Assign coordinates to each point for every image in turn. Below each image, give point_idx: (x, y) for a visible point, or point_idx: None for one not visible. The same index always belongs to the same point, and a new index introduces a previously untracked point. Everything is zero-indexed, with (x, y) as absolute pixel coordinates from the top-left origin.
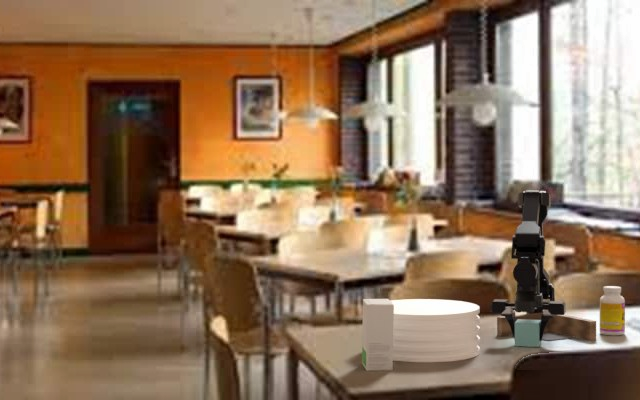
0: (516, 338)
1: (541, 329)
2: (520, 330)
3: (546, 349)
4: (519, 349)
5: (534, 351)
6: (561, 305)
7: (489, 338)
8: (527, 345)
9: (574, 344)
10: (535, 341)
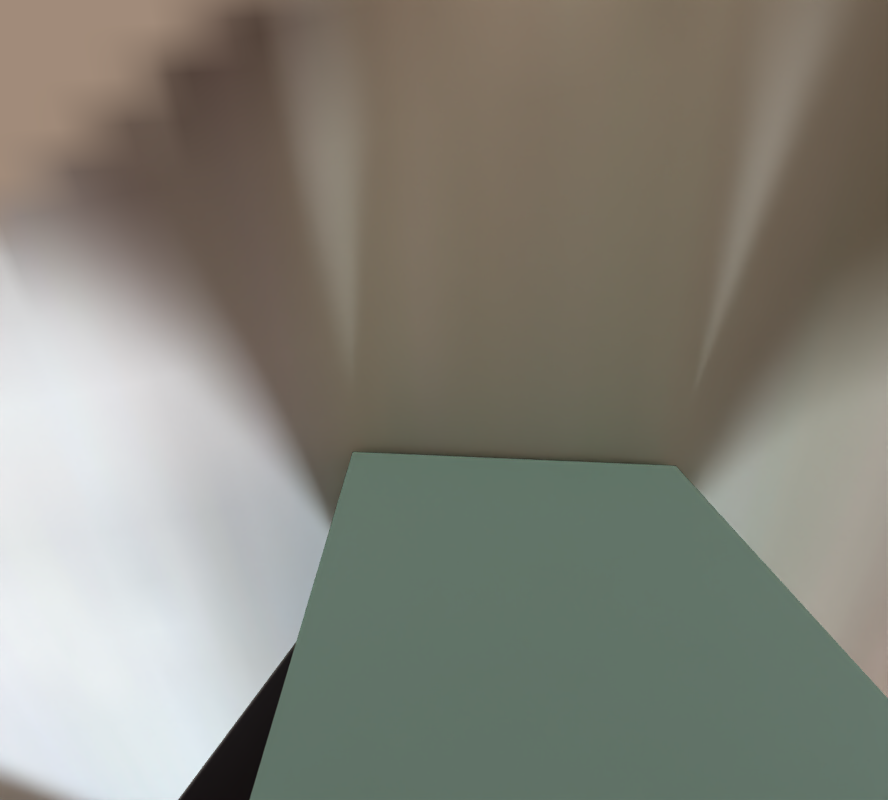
0: (711, 539)
1: (247, 796)
2: (734, 679)
3: (214, 336)
4: (632, 250)
5: (374, 90)
6: None
7: None
8: (507, 467)
9: (5, 684)
10: (388, 501)
